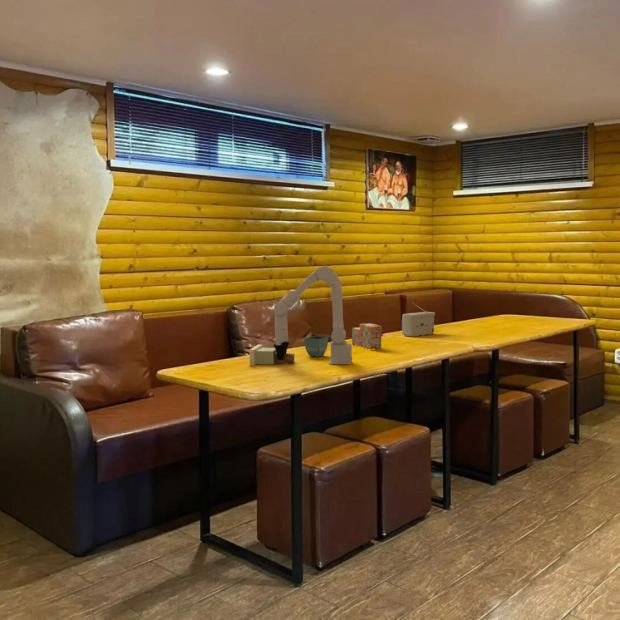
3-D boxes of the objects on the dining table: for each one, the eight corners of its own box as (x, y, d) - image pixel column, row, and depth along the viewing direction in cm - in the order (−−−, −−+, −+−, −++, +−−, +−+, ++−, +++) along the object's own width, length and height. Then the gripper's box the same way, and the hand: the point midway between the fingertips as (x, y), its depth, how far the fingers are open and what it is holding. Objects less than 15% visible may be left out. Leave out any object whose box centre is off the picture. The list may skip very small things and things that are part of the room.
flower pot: (313, 354, 325) (313, 336, 324) (329, 355, 320) (328, 337, 319) (303, 356, 317) (303, 338, 316) (319, 358, 313) (319, 339, 312)
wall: (262, 359, 311) (262, 344, 310) (254, 365, 295) (253, 349, 294) (258, 359, 311) (258, 344, 311) (249, 365, 295) (249, 349, 295)
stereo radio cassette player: (425, 333, 401) (425, 299, 399) (435, 334, 394) (436, 300, 393) (401, 336, 388) (401, 302, 386) (411, 337, 381) (412, 302, 379)
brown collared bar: (295, 361, 304) (294, 351, 303) (292, 364, 297) (291, 353, 296) (266, 361, 306) (266, 350, 306) (263, 363, 299) (262, 353, 299)
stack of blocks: (351, 345, 355) (351, 322, 354) (362, 344, 357) (362, 321, 356) (370, 350, 335) (370, 326, 334) (381, 349, 338) (381, 325, 337)
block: (278, 360, 307) (277, 347, 306) (273, 364, 297) (273, 351, 296) (261, 360, 308) (260, 347, 307) (255, 363, 298) (255, 351, 298)
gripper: (276, 327, 308) (276, 356, 309) (268, 331, 293) (269, 361, 295) (291, 327, 306) (291, 356, 308) (284, 331, 292) (285, 361, 293)
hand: (281, 359), depth 301 cm, fingers closed on brown collared bar, 4 cm apart
